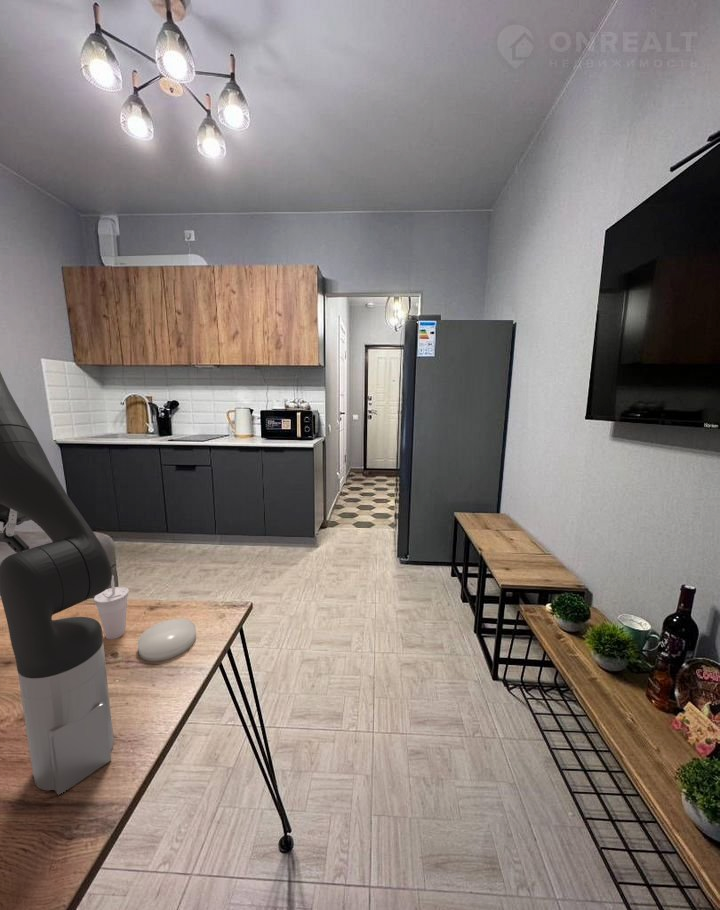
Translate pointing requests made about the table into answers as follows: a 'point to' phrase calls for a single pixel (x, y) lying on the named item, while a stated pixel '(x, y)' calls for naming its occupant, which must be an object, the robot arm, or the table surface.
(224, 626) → the table surface
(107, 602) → the smoothie
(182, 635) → the trivet
